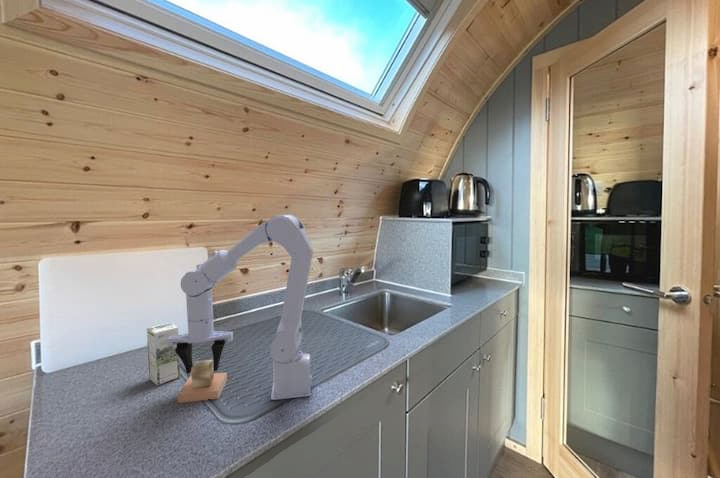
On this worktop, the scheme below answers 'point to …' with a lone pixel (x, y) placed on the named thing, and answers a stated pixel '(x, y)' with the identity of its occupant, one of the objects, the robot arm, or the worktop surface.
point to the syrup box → (162, 354)
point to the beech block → (202, 373)
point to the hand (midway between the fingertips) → (203, 370)
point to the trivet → (203, 389)
